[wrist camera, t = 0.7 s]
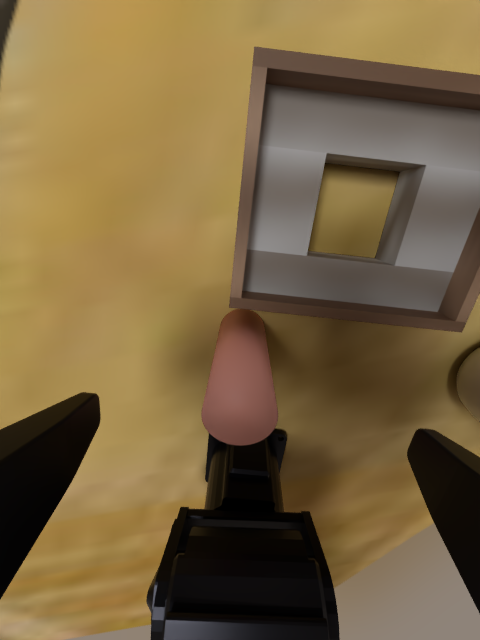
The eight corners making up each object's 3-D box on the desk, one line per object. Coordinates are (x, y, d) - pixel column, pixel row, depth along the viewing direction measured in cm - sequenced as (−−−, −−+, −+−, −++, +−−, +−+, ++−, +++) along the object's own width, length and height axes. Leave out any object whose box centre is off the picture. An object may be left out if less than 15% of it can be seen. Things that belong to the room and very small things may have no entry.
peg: (261, 351, 20) (271, 448, 12) (218, 346, 20) (199, 441, 12) (267, 311, 19) (283, 388, 11) (222, 306, 19) (203, 380, 11)
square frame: (419, 308, 19) (461, 332, 15) (232, 288, 19) (229, 307, 15) (490, 118, 15) (572, 86, 11) (252, 88, 15) (254, 46, 11)
